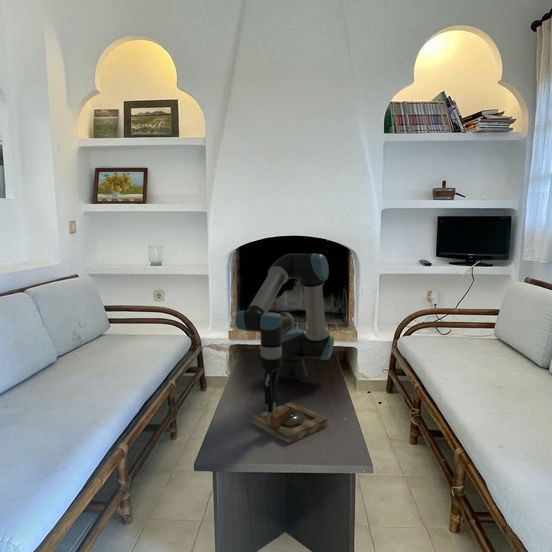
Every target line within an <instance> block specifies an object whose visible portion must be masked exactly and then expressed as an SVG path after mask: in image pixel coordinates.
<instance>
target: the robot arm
mask: <svg viewBox="0 0 552 552" xmlns="http://www.w3.org/2000/svg"><path fill="white" fill-rule="evenodd" d="M328 262H329V261H328V260H327V257H326V256H324V254H320V253H298V252H297V253H295V252H293V253H292V252H291V253H287V254H285V255H283V256H281V257H279V258H278V259H276V261H275V262H273V263H272V265H270V267H269V269H268V270H267V277H266V278H265V280H264V281H263V283H262V285H261V287H260V288H259V290H258V291H257V293H256V294H255V296H254V298H253V299H252V301H251V303H250V304H249V306H248V307H247V309H246V310H240V311H238V312H237V313H236V316H235V326H236V328H237V329H238V330H241V331H246V332H256V333H258V332H259V333H260V346H259V348H258V349H259V350H260V356H261V357H260V367H261V369H263V370H264V371H265V372H264V380H263V381H262V382H263V391H264V404H266V411H267V420H271V416H272V415H274V414H275V408H276V402H278V398H277V397H278V395H277V394H278V379H281V380H282V381H283V380H284V381H290V382H291V381H293V382H294V381H301V380H304V379H306V378H307V376H308V371H307V368H306V364H305V362H304V358H307V359H314V360H315V359H316V360H320V361H321V360H324V361H325V360H326V361H327V360H329V359H330V358H331V356H332V353H333V350H334V344H335V338H334V336H332V335H330V330H329V329H327V328H326V316H325V304H324V294H323V293H324V292H323V285H325V284H326V283H325V282H326V280H328V279H329V275H330V274H329V270H330V269H329V268H330V267H329V263H328ZM291 279H292V280H293V279H294V280H298V281H299V285H300V286H301V287H303V295H304V296H303V298H304V306H305V316H306V324H307V325H306V326H307V330H306V331H304V329H301V328H296V329H295V328H294V326H295V318H294V317H293V315H292V314H291V313H289V312H287V311H286V312H285V311H283V312H279V313H278V312H269V310H270V308H271V306H272V304H273V302H274V301H275V299H276V297H277V295H278V294H279V292H280V290H281V288H282V286H283V285H284V284H286V283H287V282H288V281H289V280H291Z"/></svg>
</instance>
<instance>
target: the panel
mask: <svg viewBox="0 0 552 552" xmlns="http://www.w3.org/2000/svg"><path fill="white" fill-rule="evenodd" d="M285 407H287V408H290V409H291V410H298V411H300V412H302V413H303V414H304V416H305V417H304V423H303V424H301V425H299V426H294V427H287V426H282V425H279V426H278V427H276V428H274V427H271V420H267V410H266V411H264V412H261V413H258V414H255V415H253V416H252V424H253V425H255V426H256V427H258V428H259V429H262V430H264V431H265V432H267V433H268V434H271V435H272V436H274V437H275V438H277V439H279V440H281V441H283V442H284V443H286V444H291V443H294V442H296V441H298V440H300V439H302V438H304V437H306V436H308V435H311V434H312V433H315V432H317V431H319V430H321V429H323V428H325V427H328V420H329V419H328V418H327V417H325V416H322V415H321V414H319V413H316V412H313V411H312V410H310V409H308V408H305V407H303V406H302V405H299V404H297V403H294V402H292V401H290V402H288V403H283V404H282V405H279V406H275V413H277V412H278V411H280V410H281V409H283V408H285Z"/></svg>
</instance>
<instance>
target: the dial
mask: <svg viewBox="0 0 552 552" xmlns="http://www.w3.org/2000/svg"><path fill="white" fill-rule="evenodd" d="M304 417H305V416H304V414H303V413H302V412H300V411H298V410H291V409H290V408H287V407H285V408H283V409H281V410H280V411H278V412H277V413H275V414H274V415H272V416H271V427H274V428H276V427H278V426H279V425H282V426H287V427H294V426H299V425H301V424H303V423H304Z"/></svg>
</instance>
